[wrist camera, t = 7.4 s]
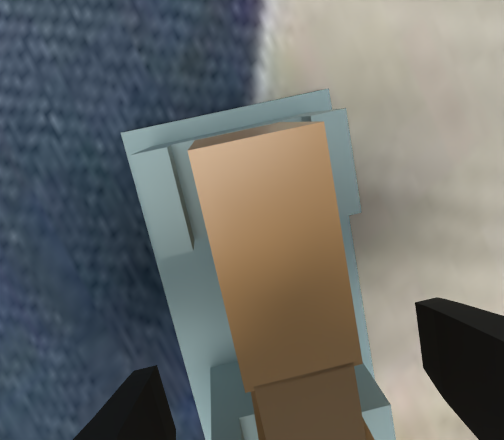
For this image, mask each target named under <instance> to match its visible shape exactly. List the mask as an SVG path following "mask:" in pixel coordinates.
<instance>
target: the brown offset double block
mask: <svg viewBox="0 0 504 440" xmlns="http://www.w3.org/2000/svg"><path fill="white" fill-rule="evenodd" d="M188 155H189V159H190V163H191V168H192V172H193V176H194V180H195V184H196V189H197V193H198V197H199V201H200V205H201V209H202V214H203V218H204V222H205V226H206V230H207V235H208V239H209V243H210V247H211V251H212V256H213V260H214V264H215V268H216V272H217V276H218V281H219V285H220V289H221V293H222V297H223V302H224V306H225V310H226V314H227V318H228V323H229V327H230V331H231V335H232V339H233V344H234V348H235V352H236V356H237V360H238V364H239V369H240V373H241V377H242V381H243V385H244V390H245V393H247V392H251V396H252V402H253V408H254V414H255V420H256V427H257V433H258V439H259V440H375V439H374V438H373V436H372V434H371V432H370V430H369V428H368V426H367V424H366V423H365V421H364V419H363V417H362V411H361V405H360V399H359V393H358V387H357V381H356V375H355V369H354V366H356V365H360V364H363V361H362V355H361V349H360V343H359V336H358V330H357V324H356V318H355V311H354V305H353V299H352V293H351V286H350V280H349V274H348V268H347V261H346V255H345V249H344V243H343V237H342V230H341V224H340V218H339V212H338V205H337V199H336V193H335V187H334V180H333V174H332V168H331V162H330V155H329V149H328V143H327V137H326V130H325V124H324V121H319V122H278V123H273V124H269V125H264V126H259V127H255V128H250V129H245V130H240V131H236V132H231V133H226V134H222V135H217V136H212V137H208V138H203V139H198V140H195V141H194V142H193V143H192V145H191V146H190V148H189V149H188Z"/></svg>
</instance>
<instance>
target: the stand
mask: <svg viewBox="0 0 504 440" xmlns="http://www.w3.org/2000/svg"><path fill="white" fill-rule="evenodd" d="M319 121H324V124H325V130H326V137H327V143H328V149H329V155H330V162H331V168H332V174H333V180H334V187H335V193H336V199H337V205H338V212H339V218H340V224H341V230H342V237H343V243H344V249H345V255H346V261H347V268H348V274H349V280H350V286H351V293H352V299H353V305H354V311H355V318H356V324H357V330H358V336H359V343H360V349H361V355H362V361H363V364H360V365H356V366H354V369H355V375H356V381H357V387H358V393H359V399H360V405H361V411H362V417H363V419H364V421H365V423H366V424H367V426H368V428H369V430H370V432H371V434H372V436H373V438H374V439H375V440H396V437H395V431H394V424H393V417H392V411H391V405H390V403H389V402H388V400H387V398H386V397H385V395H384V394H383V392H382V391H381V389H380V388H379V386H378V385H377V383H376V382H375V378H374V372H373V365H372V359H371V353H370V346H369V340H368V334H367V327H366V321H365V315H364V308H363V302H362V296H361V289H360V283H359V277H358V271H357V264H356V258H355V252H354V245H353V239H352V233H351V226H350V220H349V215H353V214H357V213H362V212H361V205H360V198H359V192H358V185H357V178H356V172H355V165H354V159H353V152H352V145H351V139H350V132H349V125H348V119H347V112H346V108H345V109H335V110H332V106H331V100H330V94H329V89H324V90H320V91H315V92H310V93H306V94H301V95H296V96H291V97H287V98H282V99H277V100H273V101H268V102H263V103H259V104H254V105H249V106H245V107H240V108H235V109H231V110H226V111H221V112H217V113H212V114H207V115H203V116H198V117H193V118H189V119H184V120H179V121H174V122H170V123H165V124H160V125H156V126H151V127H146V128H142V129H137V130H132V131H128V132H123V133H121V136H122V139H123V143H124V146H125V150H126V154H127V157H128V161H129V165H130V168H131V172H132V175H133V179H134V183H135V186H136V190H137V193H138V197H139V201H140V204H141V208H142V212H143V215H144V219H145V222H146V226H147V230H148V233H149V237H150V240H151V244H152V248H153V251H154V255H155V258H156V262H157V266H158V269H159V273H160V277H161V280H162V284H163V287H164V291H165V295H166V298H167V302H168V305H169V309H170V313H171V316H172V320H173V324H174V327H175V331H176V334H177V338H178V342H179V345H180V349H181V352H182V356H183V360H184V363H185V367H186V371H187V374H188V378H189V381H190V385H191V389H192V392H193V396H194V399H195V403H196V407H197V410H198V414H199V417H200V421H201V425H202V428H203V432H204V436H205V439H206V440H259V439H258V433H257V427H256V420H255V414H254V408H253V402H252V396H251V392H247V393H245V390H244V385H243V381H242V377H241V373H240V369H239V364H238V360H237V356H236V352H235V348H234V344H233V339H232V335H231V331H230V327H229V323H228V318H227V314H226V310H225V306H224V302H223V297H222V293H221V289H220V285H219V281H218V276H217V272H216V268H215V264H214V260H213V256H212V251H211V247H210V243H209V239H208V235H207V230H206V226H205V222H204V218H203V214H202V209H201V205H200V201H199V197H198V193H197V189H196V184H195V180H194V176H193V172H192V168H191V163H190V159H189V155H188V149H189V148H190V146H191V145H192V143H193V142H194V141H195V140H198V139H203V138H208V137H212V136H217V135H222V134H226V133H231V132H236V131H240V130H245V129H250V128H255V127H259V126H264V125H269V124H273V123H278V122H319Z"/></svg>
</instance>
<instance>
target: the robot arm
mask: <svg viewBox="0 0 504 440" xmlns="http://www.w3.org/2000/svg"><path fill="white" fill-rule="evenodd" d="M415 306H416V313H417V321H418V329H419V337H420V345H421V353H422V361H423V368H424V370H425V371H426V373H427V374H428V376H429V377H430V379H431V381H432V382H433V384H434V385H435V387H436V388H437V390H438V391H439V393H440V394H441V396H442V397H443V398H444V400H445V401H446V402H447V403H448V404H449V406H450V407H451V408H452V409H453V410H454V411H455V413H456V414H457V415H458V416H459V417H460V419H461V420H462V421H463V422H464V423H465V424H466V425H467V427H468V428H469V429H470V430H471V431H472V432H473V433H474V435H475V436H476V437H477V438H478V439H479V440H504V316H502V315H498V314H495V313H492V312H488V311H485V310H482V309H478V308H475V307H472V306H468V305H465V304H461V303H458V302H454V301H451V300H447V299H442V298H432V299H428V300H424V301H420V302H416V303H415ZM73 440H176V429H175V425H174V422H173V418H172V415H171V412H170V408H169V405H168V401H167V398H166V395H165V391H164V388H163V384H162V381H161V378H160V374H159V371H158V368H157V365H156V366H152V367H148V368H143V369H139V370H135V371H134V372H133V373H132V374H131V375H130V376H129V377H128V378H127V379H126V380H125V381H124V382H123V384H122V385H121V386H120V387H119V388H118V390H117V391H116V392H115V393H114V394H113V395H112V397H111V398H110V399H109V400H108V401H107V402H106V404H105V405H104V406H103V407H102V408H101V409H100V411H99V412H98V413H97V414H96V415H95V416H94V417H93V419H92V420H91V421H90V422H89V423H88V424H87V425H86V426H85V427H84V428H83V429H82V430H81V431H80V432H79V434H78V435H77V436H76V437H75V438H74V439H73Z"/></svg>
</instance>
